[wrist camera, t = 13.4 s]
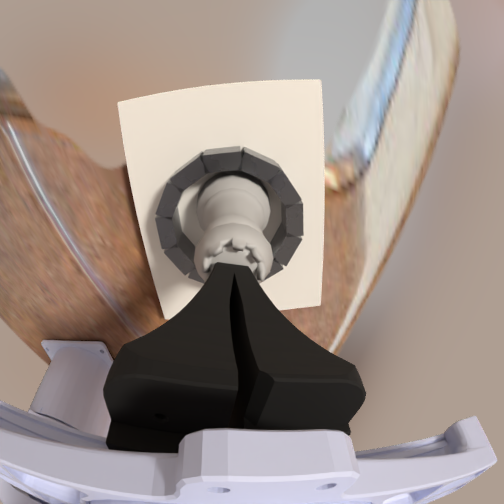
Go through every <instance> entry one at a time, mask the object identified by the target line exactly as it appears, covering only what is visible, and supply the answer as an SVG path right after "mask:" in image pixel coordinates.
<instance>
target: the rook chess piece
mask: <svg viewBox="0 0 504 504" xmlns="http://www.w3.org/2000/svg"><path fill="white" fill-rule="evenodd" d="M270 212H271V208H270V200H269V195H268V191H267V190H266V188H265V187H264V186H263V184H262V183H261V181H260V180H259V179H257V178H255V177H254V176H252V175H250V174H248V173H246V172H241V171H235V170H233V171H226V172H221V173H218V174H216V175H215V176H213V177H212V178H210V179H209V180H208V181H206V182H205V184H204V185H203V187H202V189H201V190H200V192H199V193H198V199H197V207H196V214H197V218H198V221H199V225H200V227H201V228H202V230H203V231H204V235H203V236H202V238H201V239H200V241H199V242H198V244H197V246H196V247H195V255H194V263H195V266H196V269H197V272H198V274H199V275H200V277H201V278H202V279H203V280H204V281H205V282H206V280H207V279H208V277H209V276H210V274H211V272H212V270H213V268H214V264H215V263H217V262H222V263H229V264H236V265H244V266H249V268H250V269H251V271H252V273H253V274H254V276H255V278H256V279H257V281H258V283H259V284H260V283H262V282H264V279H265V278H266V276H267V275H268V274H269V273H270V270H271V266H272V263H273V254H272V248H271V245H270V243H269V242H268V241H267V239H266V238H265V236H264V235H263V230H264V229H265V227H266V226H267V224H268V221H269V216H270Z"/></svg>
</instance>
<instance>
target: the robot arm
mask: <svg viewBox="0 0 504 504" xmlns="http://www.w3.org/2000/svg"><path fill="white" fill-rule="evenodd" d="M41 344H42V346H43V348H44V350H45V351H46V353H47V354H48V356H49V358H50V359H51V363H50V365H49V367H48V369H47V371H46V373H45V375H44V377H43V380H42V382H41V384H40V386H39V388H38V390H37V392H36V395H35V397H34V399H33V402H32V404H31V406H30V409H29V410H28V412H26V411H24V410H21V409H19V408H16V407H14V406H12V405H10V404H7V403H5V402H3V401H1V400H0V500H1V502H2V503H3V504H427V503H429V502H431V501H434V500H436V499H439V498H441V497H443V496H446V495H448V494H450V493H452V492H454V491H457V490H458V489H460V488H461V487H463V486H464V485H466V484H468V483H469V482H470V481H471V480H473V479H475V478H476V477H477V476H479V475H480V474H482V473H483V472H484V471H486V470H487V469H488V468H490V467H491V466H492V465H494V464H495V463H496V462H497V458H496V456H495V454H494V451H493V449H492V447H491V445H490V443H489V441H488V439H487V437H486V435H485V433H484V431H483V429H482V427H481V425H480V423H479V421H478V419H477V417H476V416H472V417H469V418H465V419H462V420H459V421H457V422H455V423H454V424H452V425H451V426H450V427H449V428H448V429H447V430H446V431H445V432H444V434H440V435H436V436H433V437H429V438H425V439H421V440H417V441H412V442H408V443H403V444H398V445H393V446H388V447H382V448H377V449H370V450H364V451H357V452H354V449H353V445H352V441H351V438H350V437H349V435H350V432H351V431H350V428H349V424H348V423H349V421H350V420H351V419H352V418H353V416H354V415H355V414H356V412H357V411H358V410H359V409H360V407H361V406H362V404H363V402H364V400H365V396H366V392H365V389H364V386H363V384H362V381H361V378H360V375H359V373H358V371H357V369H356V367H355V365H353V364H351V363H349V362H347V361H346V360H343V359H342V358H340V357H338V356H336V355H334V354H332V353H330V352H329V351H327V350H326V349H324V348H323V347H321V346H319V345H318V344H316V343H315V342H314V341H312V340H311V339H309V338H308V337H307V336H306V335H304V334H303V333H302V332H301V331H299V330H298V329H297V328H296V327H295V326H294V325H293V324H292V323H291V322H290V321H289V320H288V319H287V318H286V317H285V316H284V315H283V314H282V313H281V312H280V311H279V310H278V309H277V308H276V306H275V305H274V304H273V303H272V301H271V300H270V299H269V297H268V296H267V295H266V293H265V292H264V290H263V289H262V287H261V286H260V284H259V283H258V281H257V279H256V278H255V276H254V274H253V273H252V271H251V269H250V268H249V266H244V265H236V264H229V263H222V262H217V263H215V264H214V268H213V270H212V272H211V274H210V276H209V277H208V279H207V280H206V282H205V283H204V285H203V286H202V288H201V289H200V290H199V291H198V293H197V294H196V295H195V296H194V297H193V299H192V300H191V301H190V302H189V303H188V304H187V305H186V306H185V307H184V308H183V309H182V310H181V311H180V312H178V313H177V314H176V315H175V316H173V317H172V318H171V319H170V320H168V321H167V322H166V323H164V324H163V325H161V326H160V327H158V328H157V329H155V330H153V331H152V332H150V333H148V334H147V335H145V336H143V337H140V338H138V339H136V340H134V341H131V342H129V343H127V344H124V345H123V347H122V348H121V350H120V351H119V353H118V354H117V356H116V358H115V360H114V361H113V359H112V357H111V355H110V353H109V351H108V349H107V347H106V345H105V344H104V343H103V342H100V341H60V340H43V341H42V342H41Z"/></svg>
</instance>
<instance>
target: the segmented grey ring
mask: <svg viewBox="0 0 504 504" xmlns="http://www.w3.org/2000/svg"><path fill="white" fill-rule="evenodd" d="M233 170H241V171H244V172H246V173H248V174H250V175H253V176H255V177H257V178H259V179H261V180H264V181H266V182H268V183H269V184H270V185H271V187H272V188H273V190H274V191H275V192H276V194H277V195H278V197H279V198H280V200H281V216H282V222H281V224H280V226H279V228H278V229H277V231H276V233H275V235H274V237H273V239H272V240H271V242H270V245H271V248H272V254H273V263H272V266H271V270H270V273H269V274H268V275H267V276H266V278H265V279H264V281H265V280H266V279H268V278H270V277H271V276H273V275H275V274H276V273H278V272H280V271H281V270H283V269H284V268H283V265H284V266H287V265H288V263H289V261H290V260H291V258H292V256H293V255H294V253H295V251H296V249H297V248H298V246H299V244H300V243H301V241H302V237H301V236H304V232H303V202H302V201H301V200H302V199H301V197H300V196H299V194H298V193H297V191H296V190H295V188H294V186H293V185H292V183H291V182H290V180H289V179H288V177H287V176H286V174H285V173H284V171H283V170H282V168H281V167H280V166H279V164H278V163H276V162H275V160H273V159H271V158H268V157H266V156H264V155H262V154H260V153H258V152H255V151H253V150H251V149H249V148H246V147H244V148H243V150H242V152H241V149H240V146H233V147H223V148H214V149H206V150H205V152H204V153H203V151H201V152H200V153H199V154H197V155H196V156H195V157H193V158H192V159H191V160H189V161H188V162H187V163H185V164H184V165H183V166H181V167H180V168H179V169H178V170H176V171H175V173H174V174H173V175H172V176H171V178H170V179H169V180H168V182H167V183H166V186H165V189H164V191H163V194H162V197H161V199H160V202H159V205H158V208H157V211H156V213H155V214H156V215H157V216H156V217H155V221H156V226H157V230H158V235H159V239H160V244H161V248H162V249H165V250H164V254H165V255H166V256H167V257H168V258H169V259H170V260H171V261H172V262H173V263H174V265H175V266H176V267H177V268H178V269H179V270H180V271H181V272H182V273H183V274H184V275H187V274H188V273H189V276H188V278H190V279H193V280H195V281H198V282H201V283H203V284H204V283H205V281H204V280H203V279H202V278H201V277H200V275H199V274H198V272H197V269H196V266H195V263H194V255H195V246H194V244H193V243H192V242H191V241H190V240H189V239H188V237H187V236H186V235H185V234H184V233H183V232H182V227H181V222H180V216H179V210H178V205H179V202H180V200H181V197H182V195H183V192H184V190H185V189H187V188H188V187H190V186H191V185H192V184H194V183H195V182H196V181H198V180H199V179H200V178H202V177H203V176H204V175H206V174H207V173H214V172H223V171H233Z"/></svg>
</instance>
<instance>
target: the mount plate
mask: <svg viewBox="0 0 504 504" xmlns="http://www.w3.org/2000/svg"><path fill="white" fill-rule="evenodd" d="M118 111H119V118H120V126H121V133H122V139H123V145H124V151H125V157H126V163H127V168H128V174H129V179H130V184H131V189H132V194H133V199H134V203H135V208H136V213H137V217H138V221H139V226H140V230H141V234H142V238H143V242H144V246H145V250H146V254H147V258H148V262H149V266H150V269H151V273H152V277H153V280H154V284H155V287H156V291H157V294H158V297H159V301H160V304H161V307H162V311H163V314H164V317H165V319H171V318H172V317H173V316H175V315H176V314H177V313H178V312H180V311H181V310H182V309H183V308H184V307H185V306H186V305H187V304H188V303H189V302H190V301H191V300H192V299H193V297H194V296H195V295H196V294H197V293H198V291H199V290H200V289H201V288H202V286H203V285H204V284H203V283H201V282H198V281H195V280H193V279H190V278H188V276H189V273H188V274H187V275H184V274H183V273H182V272H181V271H180V270H179V269H178V268H177V267H176V266H175V265H174V263H173V262H172V261H171V260H170V259H169V258H168V257H167V256H166V255H165V254H164V250H165V249H162V248H161V244H160V239H159V235H158V230H157V226H156V221H155V217H156V216H157V215H156V214H155V213H156V211H157V208H158V205H159V202H160V199H161V197H162V194H163V191H164V189H165V186H166V183H167V182H168V180H169V179H170V178H171V176H172V175H173V174H174V173H175V171H176V170H178V169H179V168H180V167H181V166H183V165H184V164H185V163H187V162H188V161H189V160H191V159H192V158H193V157H195V156H196V155H197V154H199V153H200V152H201V151H203V153H204V152H205V150H206V149H214V148H223V147H233V146H240V149H241V152H242V150H243V148H244V147H246V148H249V149H251V150H253V151H255V152H258V153H260V154H262V155H264V156H266V157H268V158H271V159H273V160H275V162H276V163H278V164H279V166H280V167H281V168H282V170H283V171H284V173H285V174H286V176H287V177H288V179H289V180H290V182H291V183H292V185H293V186H294V188H295V190H296V191H297V193H298V194H299V196H300V197H301V199H302V200H301V201H302V202H303V232H304V236H301V237H302V241H301V243H300V244H299V246H298V248H297V249H296V251H295V253H294V255H293V256H292V258H291V260H290V261H289V263H288V265H287V266H284V265H283V268H284V269H283V270H281V271H280V272H278V273H276V274H275V275H273V276H271V277H270V278H268V279H266V280H265V281H264V282H262V283H260V286H261V287H262V289H263V290H264V292H265V293H266V295H267V296H268V297H269V299H270V300H271V301H272V303H273V304H274V305H275V306H276V308H277V309H278V310H286V309H295V308H303V307H312V306H320V305H321V289H322V269H323V244H324V129H323V104H322V86H321V80H268V81H251V82H239V83H228V84H218V85H209V86H203V87H194V88H188V89H181V90H175V91H170V92H163V93H158V94H153V95H148V96H143V97H138V98H134V99H130V100H125V101H121V102H118ZM235 171H241V170H235ZM223 172H226V171H223ZM241 172H244V171H241ZM218 173H221V172H214V173H207V174H206V175H204V176H203V177H202V178H200V179H199V180H198V181H196V182H195V183H194V184H192V185H191V186H190V187H188V188H187V189H185V190H184V192H183V195H182V197H181V200H180V202H179V205H178V210H179V216H180V222H181V227H182V232H183V233H184V234H185V235H186V236H187V237H188V239H189V240H190V241H191V242H192V243H193V244H194V246H195V247H196V246H197V244H198V242H199V241H200V239H201V238H202V236H203V235H204V231H203V230H202V228H201V227H200V225H199V221H198V218H197V214H196V207H197V199H198V193H199V192H200V190H201V189H202V187H203V185H204V184H205V182H206V181H208V180H209V179H210V178H212V177H213V176H215V175H216V174H218ZM252 176H253V175H252ZM254 177H255V176H254ZM255 178H257V177H255ZM257 179H259V178H257ZM259 180H260V181H261V183H262V184H263V186H264V187H265V188H266V190H267V191H268V195H269V200H270V208H271V212H270V216H269V221H268V224H267V226H266V227H265V229H264V230H263V235H264V236H265V238H266V239H267V241H268V242H269V243H270V242H271V240H272V239H273V237H274V235H275V233H276V231H277V229H278V228H279V226H280V224H281V222H282V216H281V200H280V198H279V197H278V195H277V194H276V192H275V191H274V190H273V188H272V187H271V185H270V184H269V183H268V182H266V181H264V180H261V179H259Z"/></svg>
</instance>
